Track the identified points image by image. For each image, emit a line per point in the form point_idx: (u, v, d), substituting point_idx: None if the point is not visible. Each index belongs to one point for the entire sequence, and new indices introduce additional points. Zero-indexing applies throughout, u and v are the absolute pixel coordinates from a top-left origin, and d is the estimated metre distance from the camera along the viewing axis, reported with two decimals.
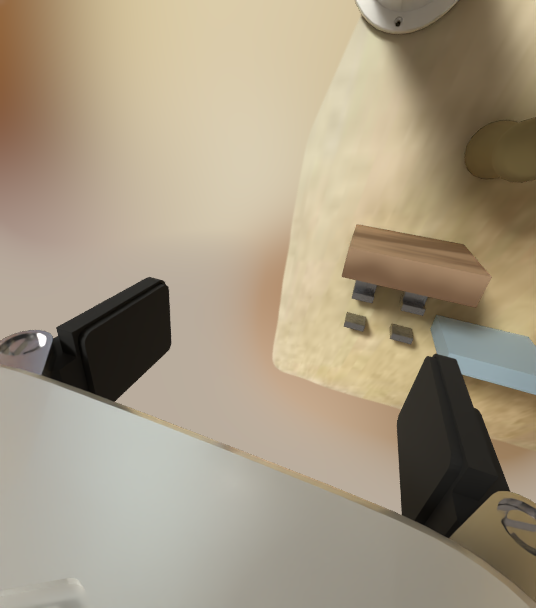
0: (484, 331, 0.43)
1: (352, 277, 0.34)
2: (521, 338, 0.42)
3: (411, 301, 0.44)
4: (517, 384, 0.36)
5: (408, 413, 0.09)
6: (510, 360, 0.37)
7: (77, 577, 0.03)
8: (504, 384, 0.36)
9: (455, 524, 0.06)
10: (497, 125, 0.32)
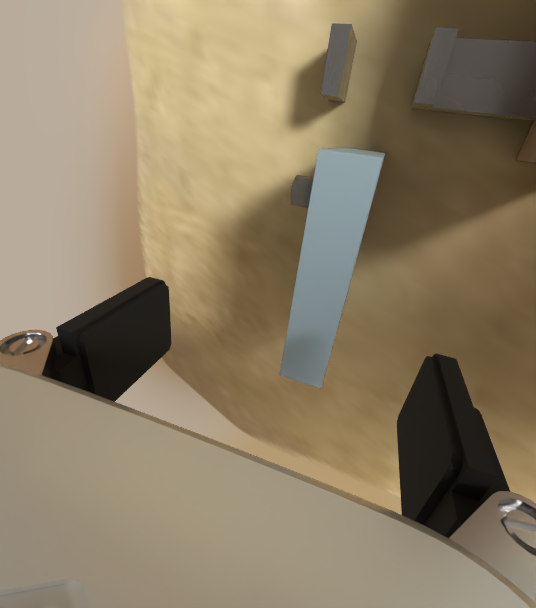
0: None
1: None
2: None
3: None
4: (302, 323, 0.16)
5: (408, 413, 0.09)
6: None
7: (77, 577, 0.03)
8: (296, 302, 0.16)
9: (455, 524, 0.06)
10: None
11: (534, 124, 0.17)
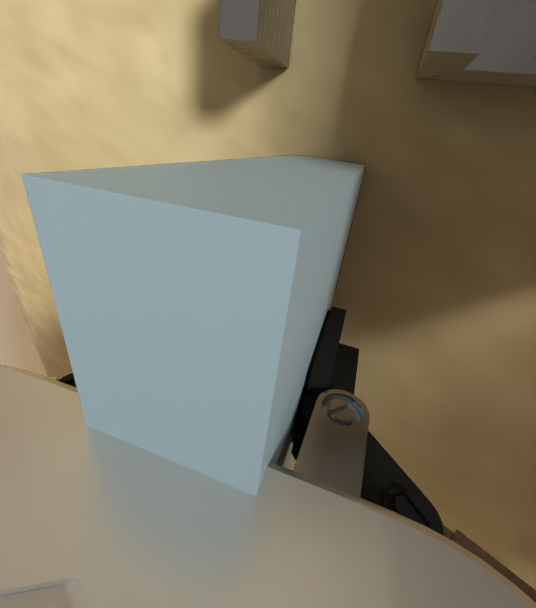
0: None
1: None
2: None
3: None
4: None
5: None
6: None
7: (77, 577, 0.03)
8: None
9: (300, 415, 0.07)
10: None
11: None
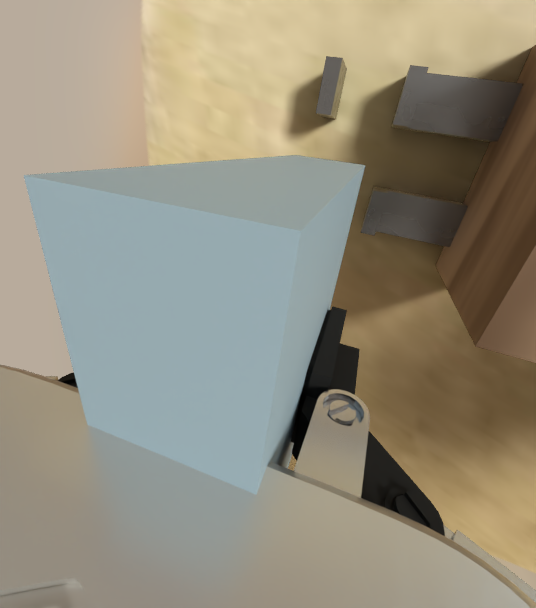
0: None
1: None
2: None
3: (383, 208, 0.23)
4: None
5: None
6: None
7: (77, 577, 0.03)
8: None
9: (301, 415, 0.07)
10: None
11: None
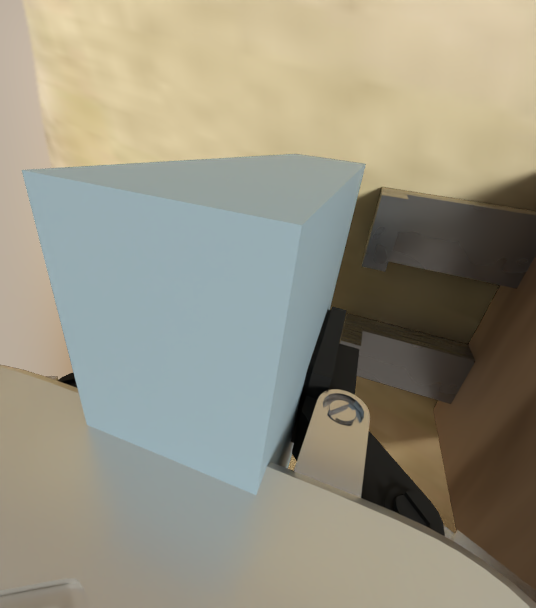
0: None
1: None
2: None
3: None
4: None
5: None
6: None
7: (77, 577, 0.03)
8: None
9: (301, 415, 0.07)
10: None
11: None
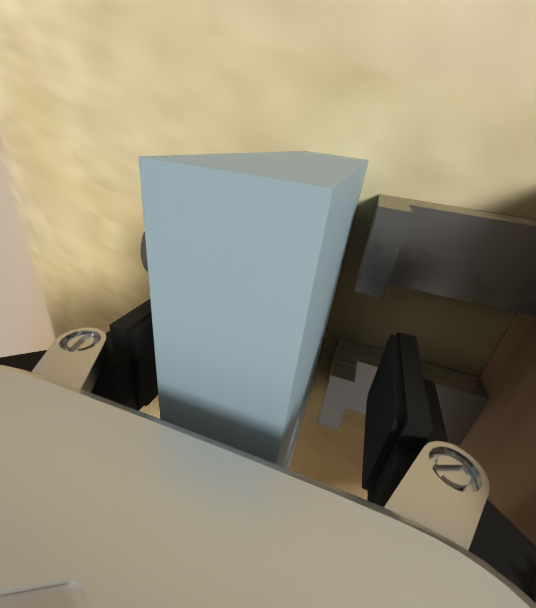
0: (329, 313, 0.13)
1: None
2: (311, 385, 0.16)
3: None
4: None
5: (374, 388, 0.10)
6: (285, 456, 0.08)
7: (77, 577, 0.03)
8: None
9: (396, 470, 0.06)
10: None
11: None
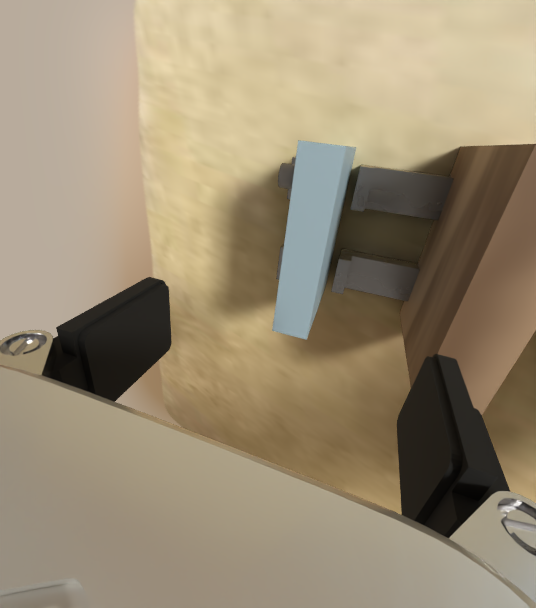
0: (337, 228, 0.25)
1: (526, 177, 0.12)
2: (327, 277, 0.28)
3: (350, 269, 0.27)
4: (289, 283, 0.20)
5: (408, 413, 0.09)
6: (323, 266, 0.21)
7: (77, 577, 0.03)
8: (284, 265, 0.19)
9: (455, 524, 0.06)
10: None
11: None
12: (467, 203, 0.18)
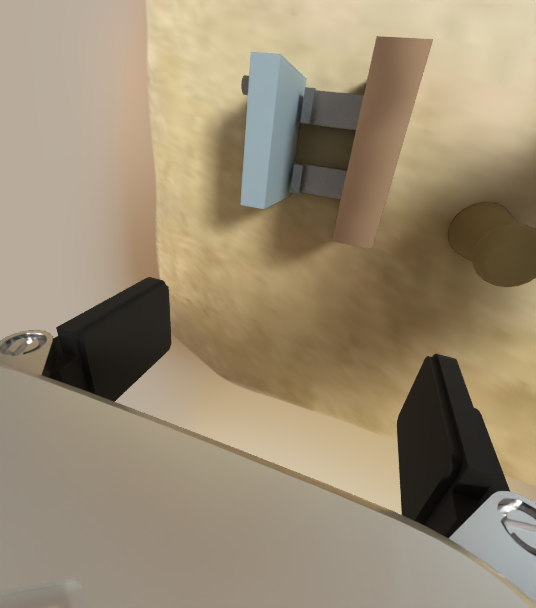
0: (293, 142, 0.34)
1: (375, 59, 0.21)
2: (288, 186, 0.37)
3: (304, 176, 0.35)
4: (250, 163, 0.28)
5: (408, 413, 0.09)
6: (275, 155, 0.29)
7: (77, 577, 0.03)
8: (246, 148, 0.28)
9: (455, 524, 0.06)
10: None
11: None
12: None
